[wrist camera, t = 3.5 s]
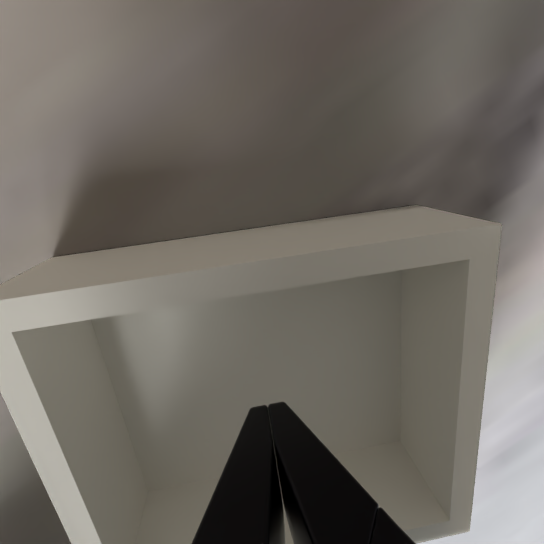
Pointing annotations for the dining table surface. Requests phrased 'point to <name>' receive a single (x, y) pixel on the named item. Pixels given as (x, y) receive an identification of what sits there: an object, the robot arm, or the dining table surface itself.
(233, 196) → the dining table surface
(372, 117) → the dining table surface
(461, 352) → the open box
